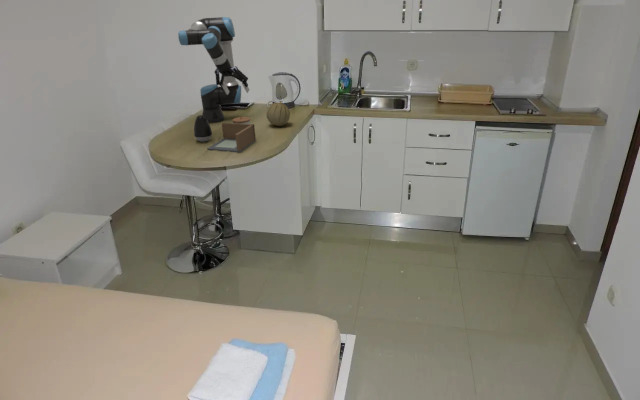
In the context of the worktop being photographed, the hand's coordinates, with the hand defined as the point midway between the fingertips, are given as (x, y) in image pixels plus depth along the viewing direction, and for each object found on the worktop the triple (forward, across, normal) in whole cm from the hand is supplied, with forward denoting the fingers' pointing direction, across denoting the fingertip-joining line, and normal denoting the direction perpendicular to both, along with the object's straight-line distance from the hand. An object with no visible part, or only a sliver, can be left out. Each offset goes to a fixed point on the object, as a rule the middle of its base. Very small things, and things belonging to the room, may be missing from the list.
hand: (238, 92), depth 259 cm
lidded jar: (+26, -8, -5) cm, 28 cm away
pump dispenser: (+14, -21, -24) cm, 35 cm away
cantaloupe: (+36, +9, +9) cm, 38 cm away
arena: (+15, 0, -29) cm, 32 cm away
